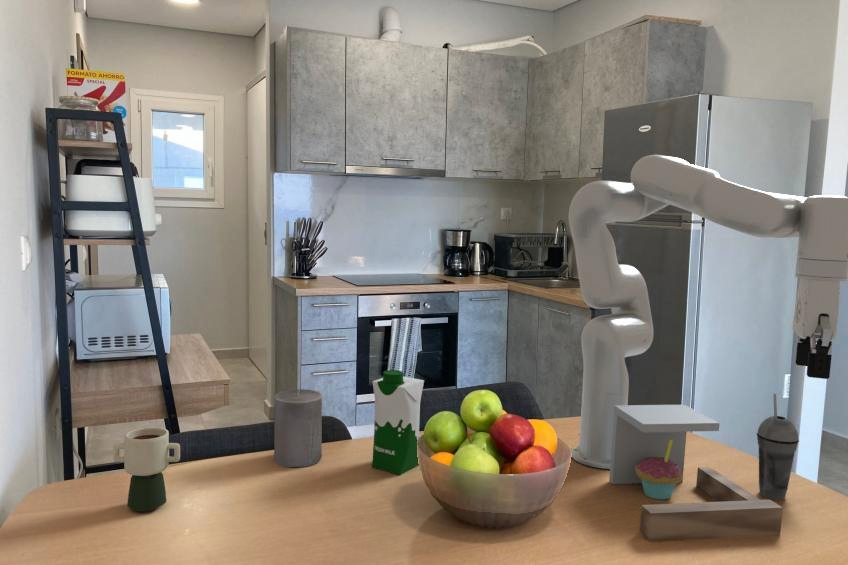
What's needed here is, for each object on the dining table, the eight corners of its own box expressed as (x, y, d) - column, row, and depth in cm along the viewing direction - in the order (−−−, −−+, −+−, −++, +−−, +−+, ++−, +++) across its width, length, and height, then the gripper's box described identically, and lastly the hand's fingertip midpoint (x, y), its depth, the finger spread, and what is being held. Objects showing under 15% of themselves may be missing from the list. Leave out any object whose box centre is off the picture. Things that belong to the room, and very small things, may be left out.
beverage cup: (798, 505, 129) (808, 400, 127) (757, 500, 130) (766, 397, 128) (786, 489, 136) (795, 391, 134) (747, 485, 137) (755, 388, 135)
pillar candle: (298, 448, 149) (298, 380, 148) (331, 458, 144) (332, 388, 142) (263, 460, 141) (263, 389, 140) (297, 472, 136) (297, 398, 134)
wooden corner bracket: (594, 490, 133) (596, 465, 132) (707, 486, 137) (709, 462, 136) (648, 542, 112) (651, 513, 111) (780, 535, 116) (782, 507, 116)
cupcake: (682, 491, 133) (687, 431, 132) (678, 507, 126) (683, 444, 124) (636, 482, 137) (641, 424, 136) (630, 498, 129) (634, 436, 128)
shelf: (609, 481, 137) (614, 405, 136) (678, 479, 140) (684, 404, 138) (637, 506, 125) (643, 424, 124) (712, 504, 128) (719, 423, 126)
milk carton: (365, 467, 139) (368, 371, 137) (391, 455, 147) (394, 363, 145) (401, 477, 135) (404, 378, 133) (425, 464, 142) (429, 369, 140)
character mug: (184, 497, 122) (184, 426, 121) (175, 515, 115) (175, 440, 114) (120, 498, 121) (119, 426, 119) (106, 516, 114) (106, 440, 112)
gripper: (787, 265, 124) (778, 359, 125) (806, 272, 107) (796, 380, 109) (834, 268, 121) (825, 363, 123) (861, 276, 105) (850, 385, 107)
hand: (811, 371), depth 116 cm, fingers open, 9 cm apart
